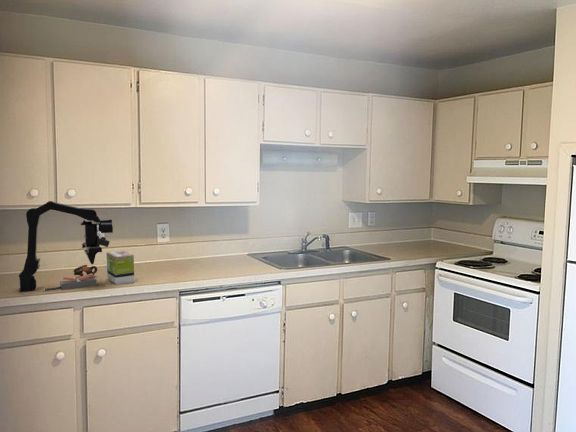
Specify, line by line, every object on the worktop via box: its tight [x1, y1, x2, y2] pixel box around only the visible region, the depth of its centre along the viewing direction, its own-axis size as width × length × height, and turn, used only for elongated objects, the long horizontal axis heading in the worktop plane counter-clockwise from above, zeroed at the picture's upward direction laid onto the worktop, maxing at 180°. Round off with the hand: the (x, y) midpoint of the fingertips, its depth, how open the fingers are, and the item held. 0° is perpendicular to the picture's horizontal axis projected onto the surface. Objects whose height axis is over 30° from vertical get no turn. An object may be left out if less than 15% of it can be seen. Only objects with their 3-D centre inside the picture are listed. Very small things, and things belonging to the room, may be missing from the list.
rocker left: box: [62, 275, 78, 281], centre depth 233 cm, size 6×3×1 cm, turn 124°
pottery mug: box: [73, 264, 98, 278], centre depth 254 cm, size 12×10×8 cm
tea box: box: [106, 250, 135, 285], centre depth 248 cm, size 15×10×15 cm, turn 37°
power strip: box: [44, 277, 98, 292], centre depth 233 cm, size 23×6×3 cm, turn 123°
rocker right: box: [79, 273, 94, 280], centre depth 237 cm, size 6×3×1 cm, turn 123°
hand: (92, 264), depth 238 cm, fingers closed
